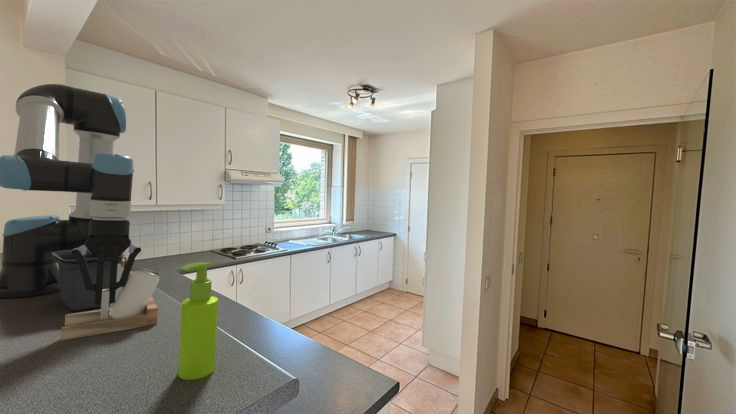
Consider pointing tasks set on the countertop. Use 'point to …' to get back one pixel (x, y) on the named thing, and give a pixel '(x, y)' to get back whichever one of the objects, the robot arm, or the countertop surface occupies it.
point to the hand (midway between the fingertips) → (104, 317)
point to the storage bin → (80, 278)
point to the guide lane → (105, 322)
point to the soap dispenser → (198, 326)
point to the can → (135, 294)
